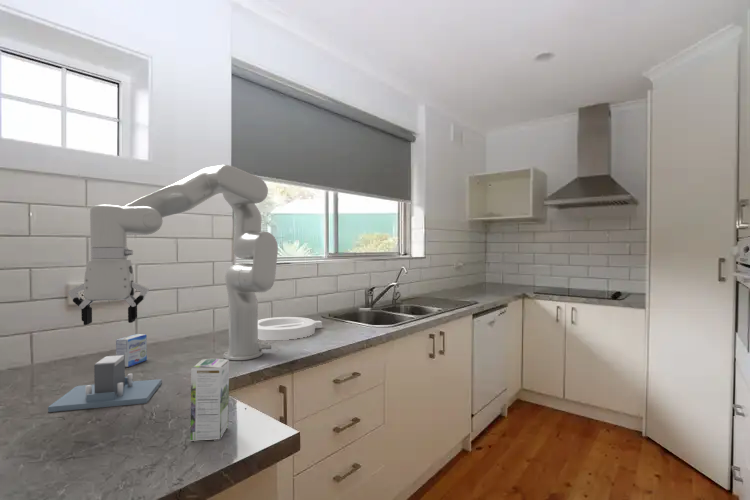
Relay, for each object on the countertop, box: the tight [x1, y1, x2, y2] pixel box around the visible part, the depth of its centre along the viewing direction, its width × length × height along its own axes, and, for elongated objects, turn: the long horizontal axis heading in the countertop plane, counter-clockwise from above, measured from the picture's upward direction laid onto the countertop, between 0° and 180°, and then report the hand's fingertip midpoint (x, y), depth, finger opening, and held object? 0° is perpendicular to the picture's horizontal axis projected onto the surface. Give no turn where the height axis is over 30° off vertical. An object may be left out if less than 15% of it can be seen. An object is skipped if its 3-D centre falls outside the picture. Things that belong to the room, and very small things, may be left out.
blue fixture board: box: [47, 372, 163, 413], centre depth 99 cm, size 20×14×4 cm
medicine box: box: [115, 333, 148, 368], centre depth 127 cm, size 8×4×9 cm, turn 168°
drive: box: [93, 354, 126, 395], centre depth 100 cm, size 4×8×8 cm, turn 15°
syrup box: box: [189, 358, 230, 440], centre depth 79 cm, size 6×6×14 cm
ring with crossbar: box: [258, 316, 323, 341], centre depth 172 cm, size 28×28×5 cm
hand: (110, 322), depth 100 cm, fingers open, 9 cm apart
